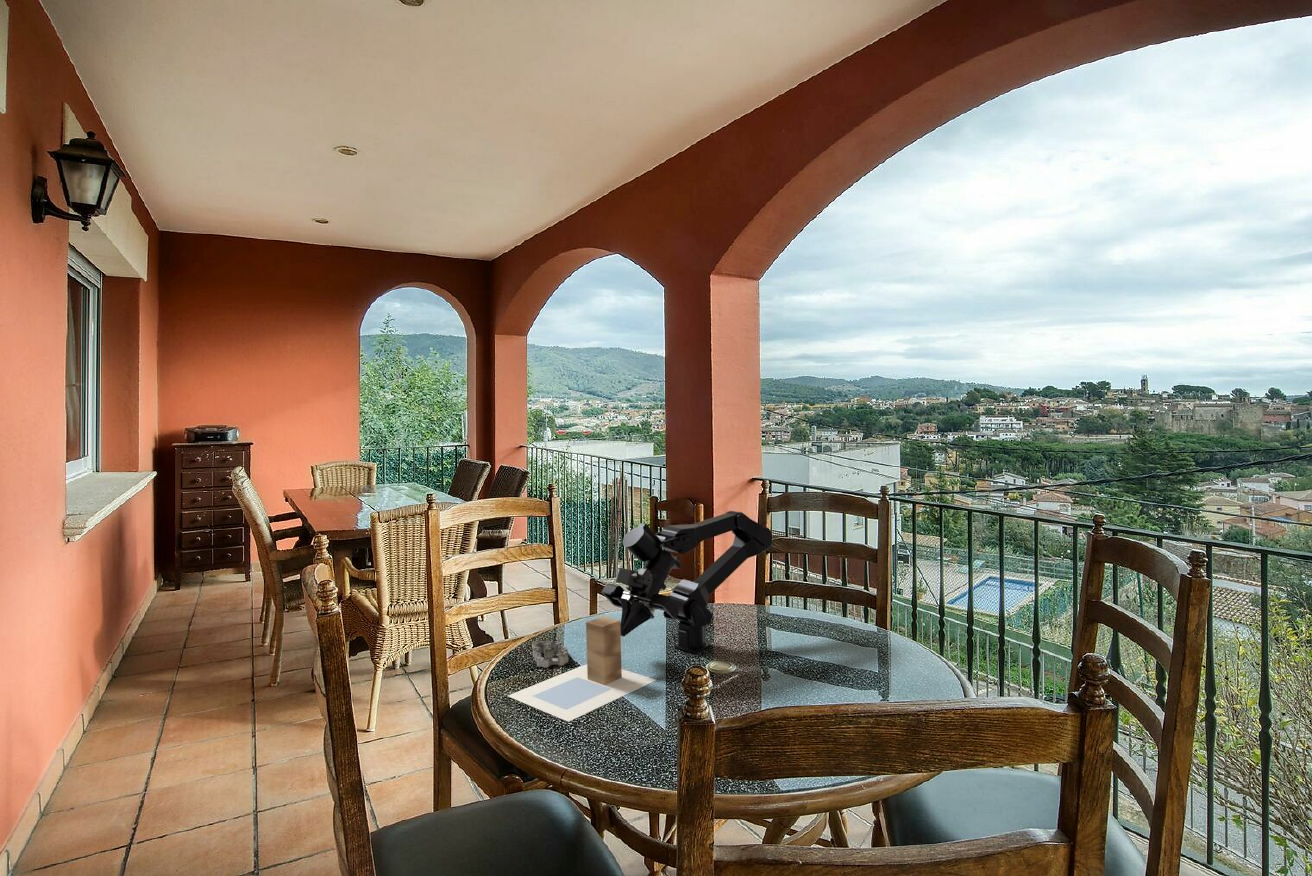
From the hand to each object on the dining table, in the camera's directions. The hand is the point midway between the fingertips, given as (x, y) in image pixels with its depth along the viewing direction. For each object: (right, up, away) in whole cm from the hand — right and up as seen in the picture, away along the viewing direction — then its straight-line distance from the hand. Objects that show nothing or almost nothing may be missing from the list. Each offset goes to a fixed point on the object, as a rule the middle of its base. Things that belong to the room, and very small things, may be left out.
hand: (621, 635), depth 146 cm
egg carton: (-16, -9, +9) cm, 21 cm away
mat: (-7, -9, -8) cm, 14 cm away
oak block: (-3, -8, -4) cm, 9 cm away
